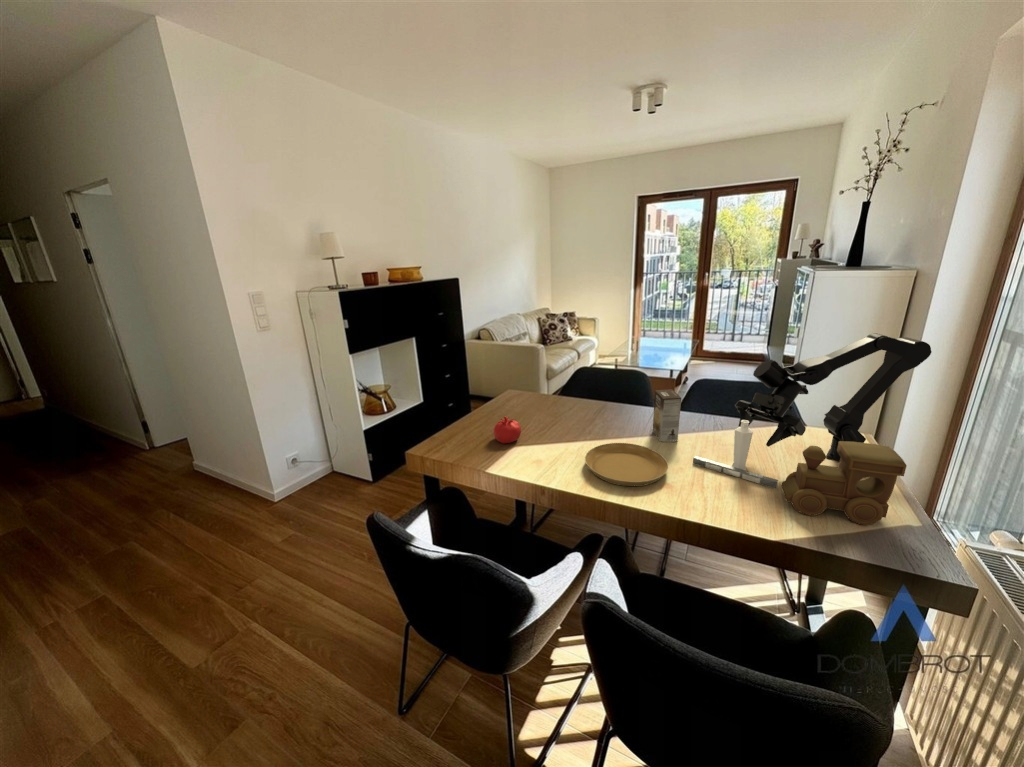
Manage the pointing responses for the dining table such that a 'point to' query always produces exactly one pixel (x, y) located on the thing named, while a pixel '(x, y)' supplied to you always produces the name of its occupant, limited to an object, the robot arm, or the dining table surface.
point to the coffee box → (666, 415)
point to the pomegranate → (507, 430)
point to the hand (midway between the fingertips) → (752, 439)
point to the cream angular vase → (742, 444)
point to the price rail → (736, 472)
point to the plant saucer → (626, 464)
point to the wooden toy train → (846, 481)
